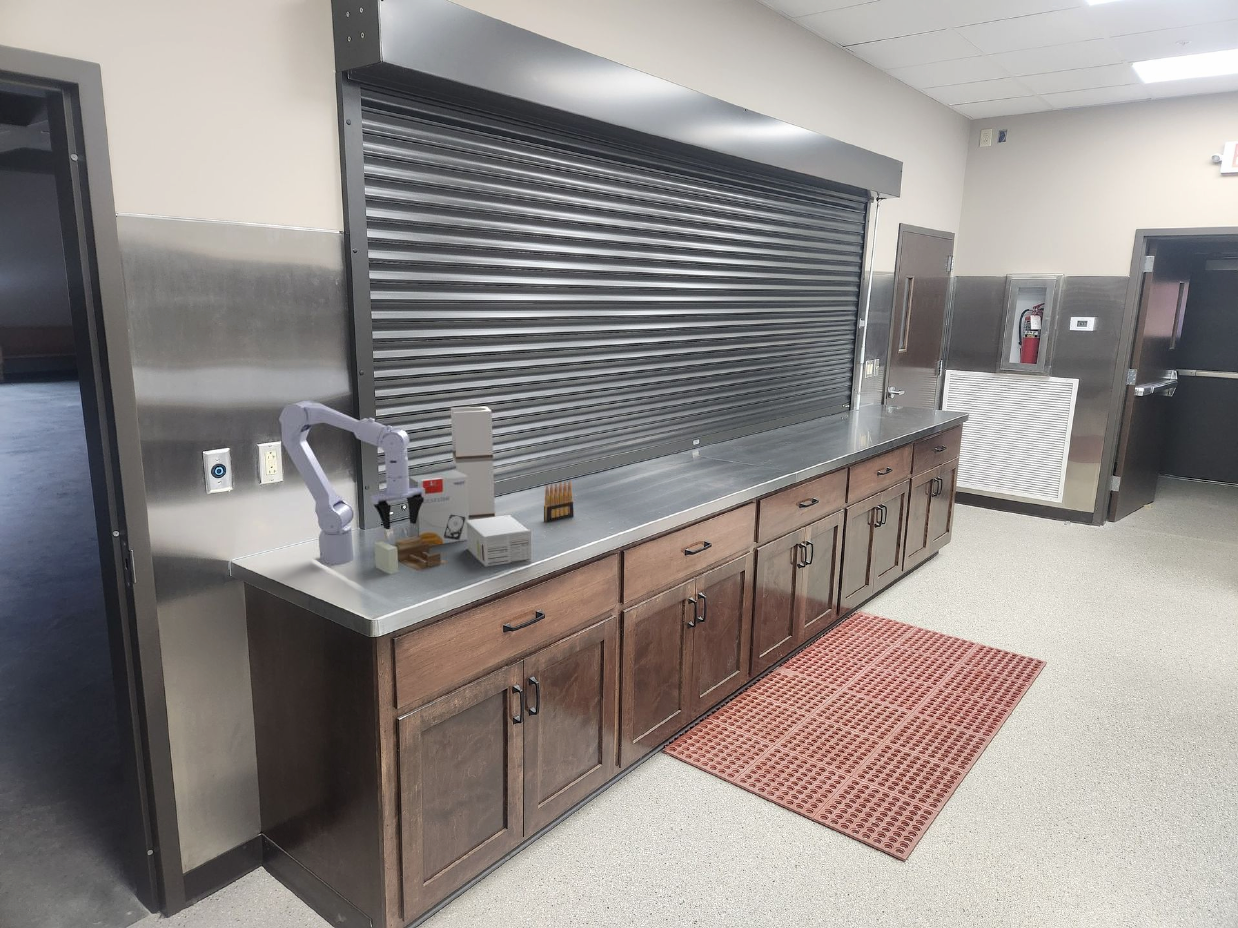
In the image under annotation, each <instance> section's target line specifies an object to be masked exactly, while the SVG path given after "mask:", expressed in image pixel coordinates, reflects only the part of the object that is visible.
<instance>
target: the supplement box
mask: <svg viewBox="0 0 1238 928" xmlns="http://www.w3.org/2000/svg"><path fill="white" fill-rule="evenodd" d="M466 524H467V540H466V541H467V542H466V543H467V550H468V551H469V553H471V554H472V555H473V556H474V557H475V558H476V559H477V560H478V561H479V562H480V563H481V564H482V565H483V566H484V567H490V566H498V565H503V564H512V563H518V562H524V561H526V562H528V563H532V531H531V529H529V528H528V527H527V526H525V525H524V524H522V523H520V522H519V521H518V520H517V519H515V518H514V517H512V515H511V514H505V515H499V516H498V515H497V516H495V517H490V518H482V519H473V520H467V521H466Z"/></svg>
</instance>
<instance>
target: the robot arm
mask: <svg viewBox="0 0 1238 928" xmlns="http://www.w3.org/2000/svg"><path fill="white" fill-rule="evenodd" d="M278 421H279V423H280V426H281V442H282V444H283V446H284V448H285V450H286V452H287V454H288V455H289V456H290V459H291V460H292V462H293V465H294V466H295V468H296V469H297V472H298V473H299V475H300V477H301V478H302V480H303V482H304V484H305V485H306V487H307V489H308V491H309V492H310V494H311V496H312V498H313V500H314V501H315V506H314V512H315V514H316V516H317V523H318V527H319V529H320V530H321V531H320V533H319V534H318V535H319V536H318V547H319V557H320V559H322V560H324V562H325V563H326V564H328V565H329V564H330V565H343V564H347V563H350V562H352V561H353V560H354V547H353V533H352V532H353V531H352V526H351V522H352V521H353V519H354V516H355V514H354V509H353V507H352V505H350V503H347V502H346V501H345V499H344V498H343V496H341V495H340V494H339V493H337V492H336V491H335V490H334V488H333V486H332V483H330V481H329V479H328V477H327V475H326V474H325V472H324V470H323V468H322V466H321V465H320V462H319V461H318V459H317V458H316V455H315V454H314V452H313V450H312V448H311V447H310V445H309V443H308V441H307V437H308V434H309V433H310V432H309V431H310V429H311V428H312V427H313V425H317V424H321V423H325V424H328V425H330V426H334V427H337V428H339V429H340V428H341V429H343V430H346V431H349V432H352V433H353V434H354V436H355V438H356V439H358V440H360V441H363V442H365V443H368V444H370V445H372V446H373V445H374V446H375V447H378V448H380V449H382V451H383V452H384V458H385V459H384V462H385V464H384V465H385V466H384V467H385V481H386V491H384V492H381V493H378V494H374V495H370V501H371V502H370V503H371V504H372V505H373V506H374V508H375V509H376V511H377V512H378V515H379V517H380V519H381V523H382V525H383V529H385V530H390V529H391V519H390V517H391V516H390V515H391V507H392V505H390V504H389V503H388V502H392V501H397V500H402V499H406V501H407V505H408V512H409V513H408V514H409V517H410V518H409V517H408V518H409V524H410V523H413V524H416V521H417V516H418V513H419V509H420V507H421V505H422V503H423V501H424V497H421V496H423V495H425V488H422V487H418V488H409V477H410V475H409V473H410V472H409V458H408V457H409V456H408V448H407V447H408V446H409V445H410V436H409V434H408V432H406V431H405V430H404V429H402V428H401V427H395V428H393V427H392V425H384V424H382V423H379V422H376V420H375V418H372V417H369V418H366V417H365V418H363V419H360V420H358V419H356V418H354V417H352V416H349V415H347V414H344V413H342V412H340V411H338V410H335V409H334V408H332V407H329V406H326V405H324V404H323V403H320V402H314V401H313V400H310V399H303V400H301V401H299V402H296V403H295V402H294V403H291V404H288V405H286V406H284V408H283V410H282V411H281V412H280V416H279V418H278ZM321 564H322V565H324V566H326V564H324V563H323V562H321ZM329 568H330V569H331V567H330V566H328V569H329Z"/></svg>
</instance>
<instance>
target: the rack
mask: <svg viewBox="0 0 1238 928" xmlns="http://www.w3.org/2000/svg"><path fill="white" fill-rule="evenodd" d="M397 551H398V563H399V562H400V563H401V564H404V565H406V566H407V567H410V568H412V569H414V570H416V571H421V570H425V569H430V568H433V567H436V566H440V565H445V564H449V562H448V561H446V560H443V559H441V553H440V552H436V553H432V554H430V546H429V543H426V544H421V545H417V546H413V547H408V548H404V549H400V550H397Z"/></svg>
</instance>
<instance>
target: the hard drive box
mask: <svg viewBox="0 0 1238 928" xmlns="http://www.w3.org/2000/svg"><path fill="white" fill-rule="evenodd" d="M418 487H422V488H425V495H423V496H421V497H424V501H423V503H422V505H421V507H420V509H419V513H418V516H417V521H416V524H413V523H410V522H409V535H410V536H409V538H410V537H414V536H415V537H418V538H421V539H422V544H426V543H429V547H431V546H432V547H433V546H437V545H438V546H439V545H444V544H450V543H456V542H461V541H462V542H463V541H467V524H466V521H467V520H469V512H468V476H467V475H465V474H463V473H461V472H459V471H458V472H457V471H447V472H438V473H431V474H430V473H429V474H421V475H413V476H410V475H409V488H418ZM408 518H409V519H410V517H408Z"/></svg>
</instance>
